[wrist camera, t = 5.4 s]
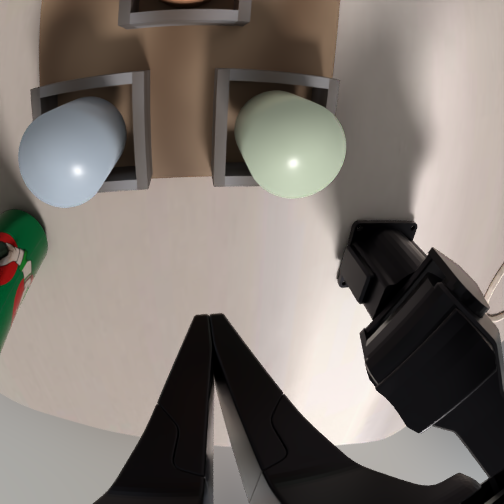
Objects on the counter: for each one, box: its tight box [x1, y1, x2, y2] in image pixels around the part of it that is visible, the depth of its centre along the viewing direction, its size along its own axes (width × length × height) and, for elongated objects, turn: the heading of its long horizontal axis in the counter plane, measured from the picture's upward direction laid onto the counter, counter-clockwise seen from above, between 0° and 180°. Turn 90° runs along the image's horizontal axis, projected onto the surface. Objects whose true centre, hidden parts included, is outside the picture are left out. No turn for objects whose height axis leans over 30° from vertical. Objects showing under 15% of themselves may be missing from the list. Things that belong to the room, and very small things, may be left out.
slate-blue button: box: [18, 96, 127, 208], centre depth 13 cm, size 4×4×4 cm
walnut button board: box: [31, 0, 340, 193], centre depth 14 cm, size 18×16×3 cm
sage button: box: [234, 90, 346, 199], centre depth 14 cm, size 4×4×4 cm
